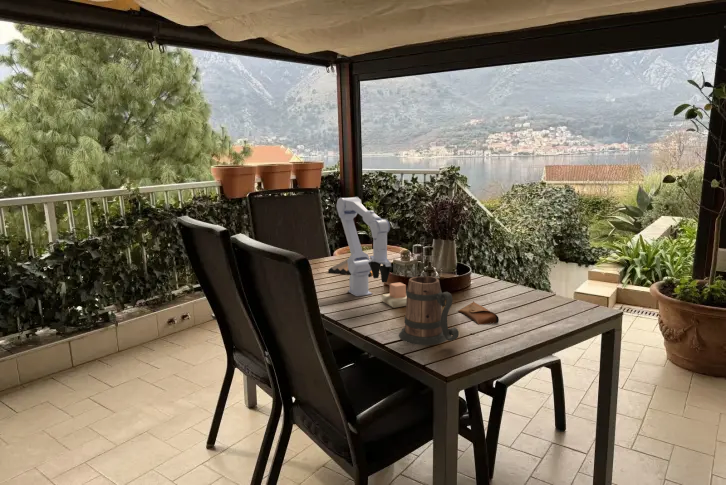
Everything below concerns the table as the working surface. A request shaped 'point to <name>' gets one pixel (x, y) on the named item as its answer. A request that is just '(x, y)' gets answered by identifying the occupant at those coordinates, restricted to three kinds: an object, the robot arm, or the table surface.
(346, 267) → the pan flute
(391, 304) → the base
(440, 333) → the tankard
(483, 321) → the sunglasses case
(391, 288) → the cube
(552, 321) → the table surface
